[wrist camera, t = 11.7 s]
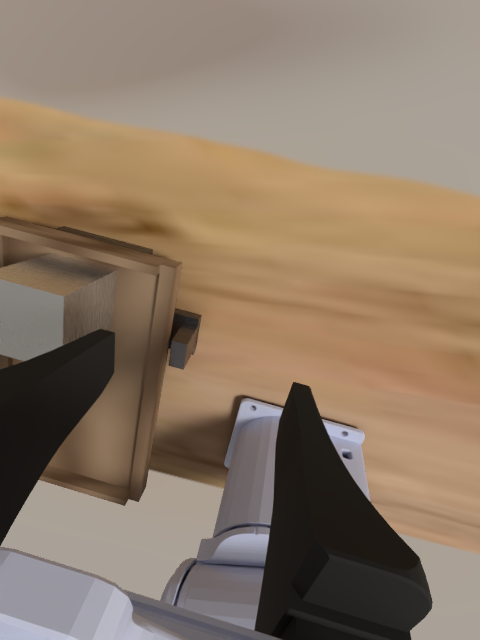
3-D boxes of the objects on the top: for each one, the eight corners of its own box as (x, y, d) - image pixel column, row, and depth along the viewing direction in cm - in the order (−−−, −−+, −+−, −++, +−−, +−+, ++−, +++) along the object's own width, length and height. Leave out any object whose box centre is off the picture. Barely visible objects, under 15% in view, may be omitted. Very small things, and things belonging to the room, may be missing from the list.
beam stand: (209, 264, 22) (196, 283, 19) (180, 439, 30) (168, 468, 28) (9, 212, 23) (-29, 223, 20) (34, 397, 31) (9, 421, 29)
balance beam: (182, 262, 20) (171, 270, 19) (145, 486, 28) (135, 508, 26) (7, 216, 21) (-21, 220, 19) (16, 448, 28) (-4, 466, 26)
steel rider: (116, 270, 20) (63, 296, 16) (111, 331, 22) (61, 371, 17) (51, 253, 20) (-20, 273, 16) (50, 314, 22) (-14, 350, 17)
